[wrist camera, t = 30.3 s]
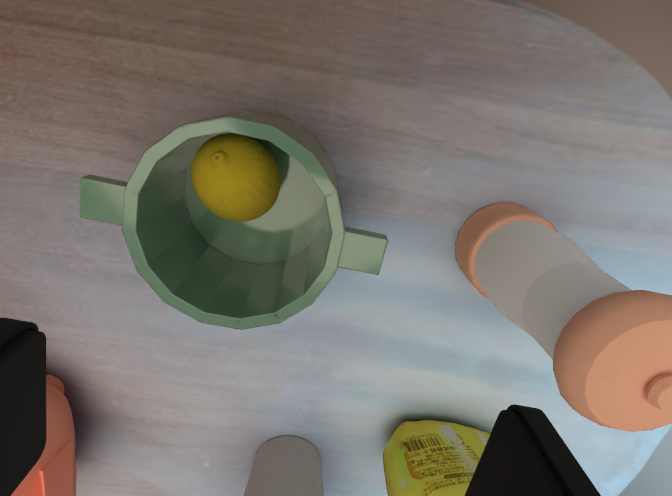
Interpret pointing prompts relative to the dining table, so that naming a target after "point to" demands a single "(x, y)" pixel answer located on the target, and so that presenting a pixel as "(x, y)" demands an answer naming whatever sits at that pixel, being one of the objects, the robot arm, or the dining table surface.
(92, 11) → the dining table surface
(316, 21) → the dining table surface
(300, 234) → the pot
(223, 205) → the lemon
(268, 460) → the coffee cup
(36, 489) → the teapot
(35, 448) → the robot arm
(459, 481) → the bottle
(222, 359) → the dining table surface
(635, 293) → the salt shaker
